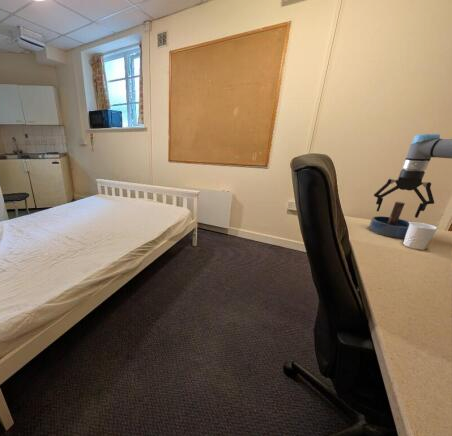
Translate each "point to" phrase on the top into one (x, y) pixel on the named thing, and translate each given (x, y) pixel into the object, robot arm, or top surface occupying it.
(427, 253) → the top surface
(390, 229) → the bowl
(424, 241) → the white cup
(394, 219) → the wooden masher
